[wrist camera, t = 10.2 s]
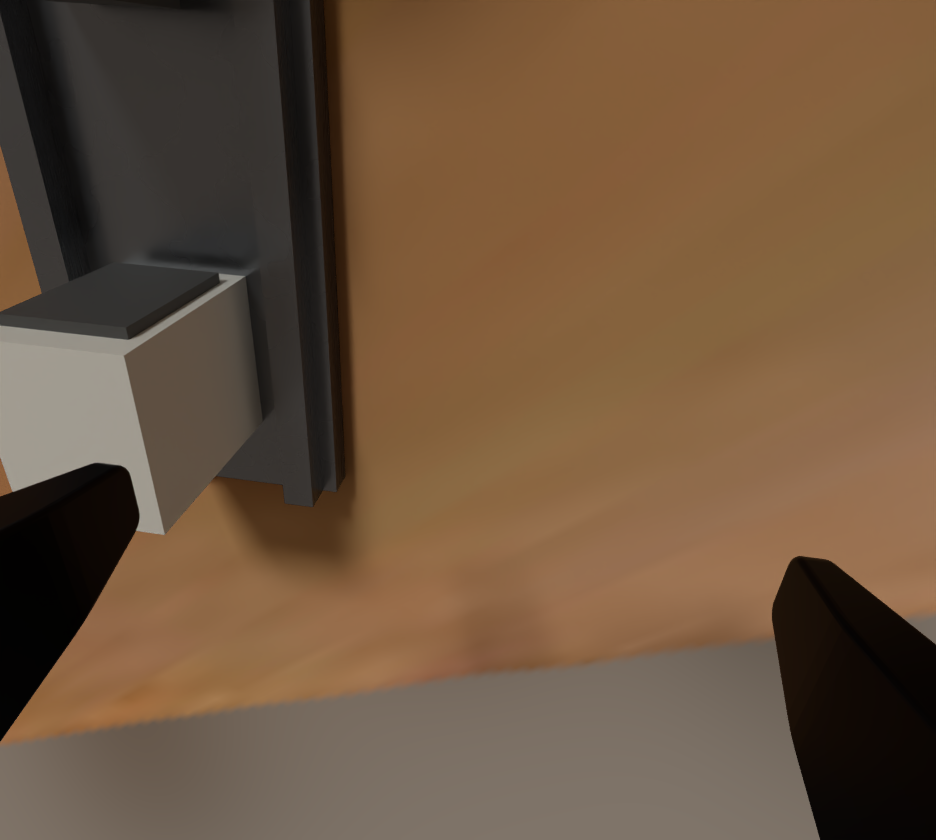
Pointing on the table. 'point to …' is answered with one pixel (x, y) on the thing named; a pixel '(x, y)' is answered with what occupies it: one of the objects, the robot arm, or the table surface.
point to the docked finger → (130, 3)
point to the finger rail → (192, 183)
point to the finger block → (130, 382)
